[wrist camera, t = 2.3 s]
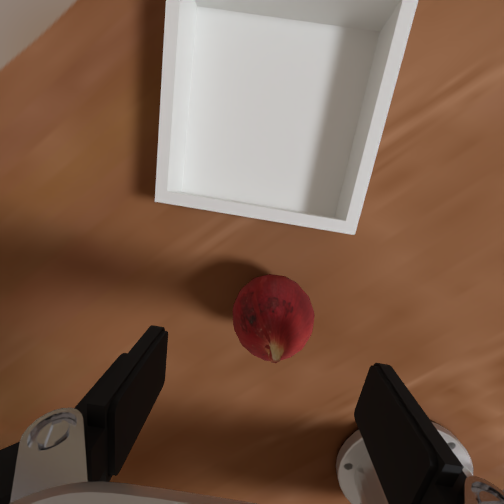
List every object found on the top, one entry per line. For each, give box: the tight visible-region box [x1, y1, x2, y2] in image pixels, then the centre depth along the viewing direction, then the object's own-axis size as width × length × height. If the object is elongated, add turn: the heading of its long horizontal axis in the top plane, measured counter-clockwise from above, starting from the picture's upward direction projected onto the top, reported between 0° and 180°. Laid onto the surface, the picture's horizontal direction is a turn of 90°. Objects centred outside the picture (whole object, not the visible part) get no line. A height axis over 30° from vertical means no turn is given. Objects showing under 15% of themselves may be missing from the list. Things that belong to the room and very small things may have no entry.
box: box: [155, 0, 418, 235], centre depth 16 cm, size 14×14×4 cm
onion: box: [233, 274, 314, 363], centre depth 17 cm, size 6×6×8 cm
